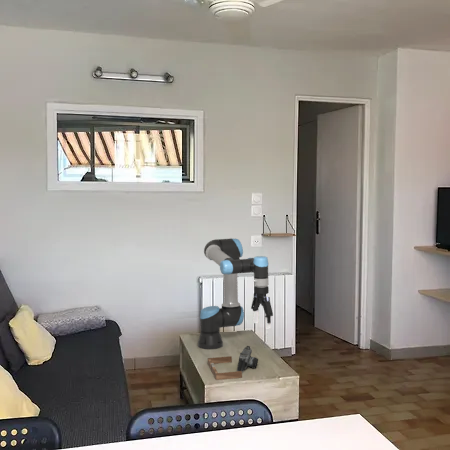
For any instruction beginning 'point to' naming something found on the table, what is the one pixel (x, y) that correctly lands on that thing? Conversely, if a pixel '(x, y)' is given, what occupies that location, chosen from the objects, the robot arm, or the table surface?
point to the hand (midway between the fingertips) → (262, 326)
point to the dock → (227, 374)
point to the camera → (246, 360)
